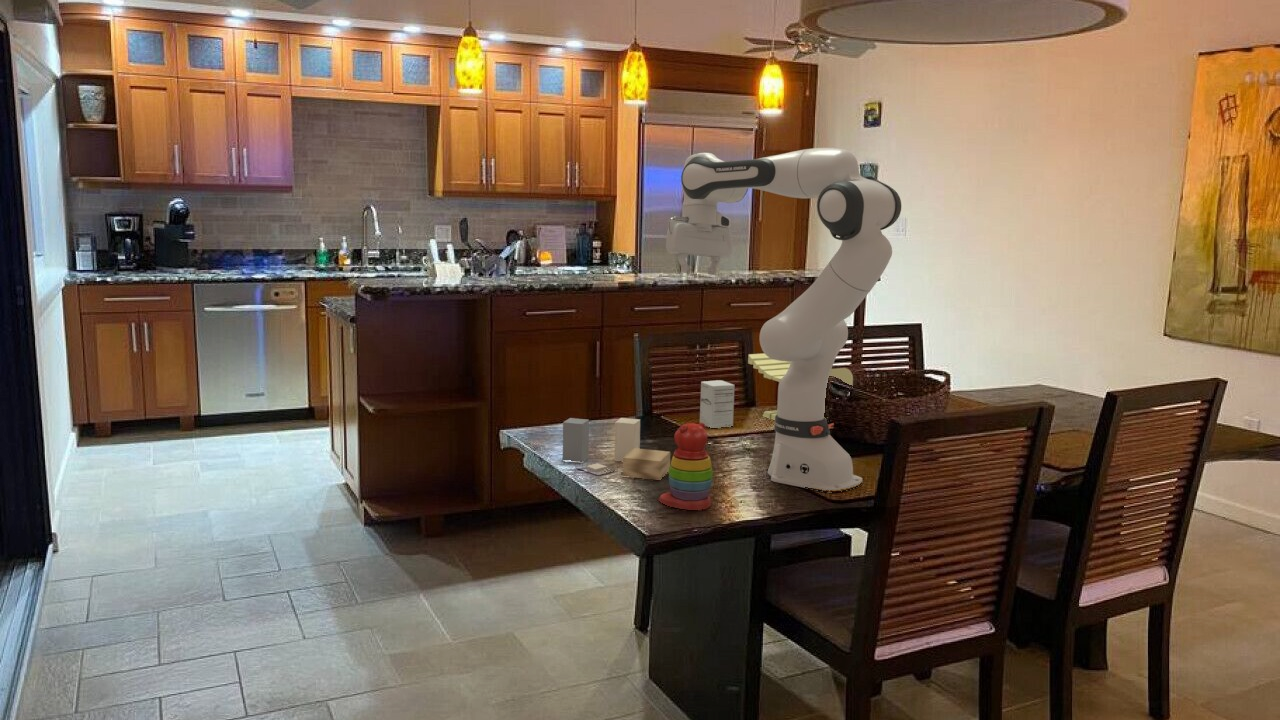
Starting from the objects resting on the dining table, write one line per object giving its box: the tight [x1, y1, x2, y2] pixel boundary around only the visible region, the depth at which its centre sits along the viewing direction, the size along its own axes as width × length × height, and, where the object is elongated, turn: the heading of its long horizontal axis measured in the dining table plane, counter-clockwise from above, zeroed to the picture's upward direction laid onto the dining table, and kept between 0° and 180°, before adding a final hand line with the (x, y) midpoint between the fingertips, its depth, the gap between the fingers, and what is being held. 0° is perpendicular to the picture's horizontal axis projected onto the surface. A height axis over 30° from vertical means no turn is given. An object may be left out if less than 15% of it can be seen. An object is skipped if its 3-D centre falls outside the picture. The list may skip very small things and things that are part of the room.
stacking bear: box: [658, 422, 714, 511], centre depth 203 cm, size 11×10×18 cm
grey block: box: [562, 417, 590, 462], centre depth 236 cm, size 5×5×10 cm
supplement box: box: [699, 379, 735, 429], centre depth 276 cm, size 7×7×13 cm
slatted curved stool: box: [747, 352, 854, 420], centre depth 285 cm, size 30×16×18 cm, turn 28°
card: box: [586, 462, 617, 473], centre depth 229 cm, size 8×6×1 cm
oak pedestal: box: [622, 448, 671, 481], centre depth 226 cm, size 9×9×5 cm
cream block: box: [614, 417, 641, 462], centre depth 238 cm, size 5×5×10 cm
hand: (699, 273), depth 242 cm, fingers open, 8 cm apart
